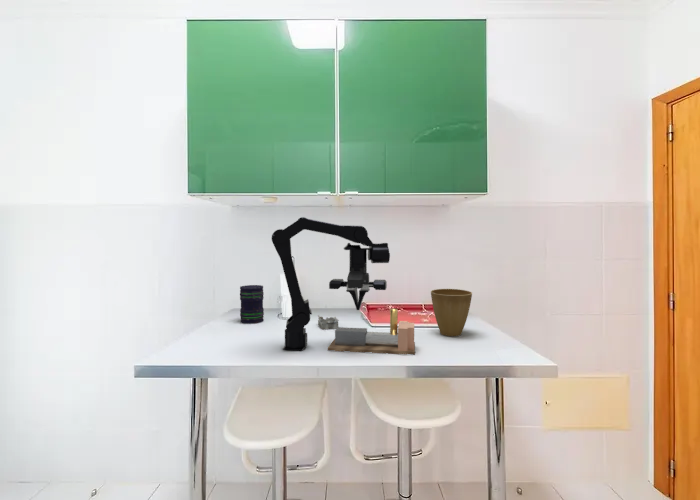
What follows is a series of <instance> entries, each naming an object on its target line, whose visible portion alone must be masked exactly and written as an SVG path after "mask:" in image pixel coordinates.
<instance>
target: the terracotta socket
mask: <svg viewBox="0 0 700 500" xmlns="http://www.w3.org/2000/svg"><path fill="white" fill-rule="evenodd" d="M414 342H415V322H409V321H405V320H403V321H401V320H399V322H398V351H408V350H414Z"/></svg>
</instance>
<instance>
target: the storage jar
mask: <svg viewBox="0 0 700 500" xmlns="http://www.w3.org/2000/svg"><path fill="white" fill-rule="evenodd" d="M239 289H240V290H239V300H240V310H239V312H240V313H239V317H240V323H241V324H245V325H255V324H260V323H264V318H265V317H264V316H265V312H264V310H265V309H264V285H261V284H259V285H258V284H251V285H250V284H249V285H248V284H247V285H242V286H241V285H240V286H239Z"/></svg>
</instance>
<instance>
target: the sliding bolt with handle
mask: <svg viewBox="0 0 700 500" xmlns="http://www.w3.org/2000/svg"><path fill="white" fill-rule="evenodd" d="M398 311H399V310H398V308H390V310H389V315H390V316H389V332H383V331H367V332H366V343H376V344H398V326H399V322H398V316H399V315H398Z"/></svg>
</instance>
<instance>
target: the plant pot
mask: <svg viewBox="0 0 700 500" xmlns="http://www.w3.org/2000/svg"><path fill="white" fill-rule="evenodd" d="M430 295H431V296H430V297H431V302H432V303H431V304H432V308H433V313H434V318H435V321H436V324H437V327H438V330H439V332H440V334H441V335H442V336H445V337H460V336H461V335H462V333H463V331H464V328H465V326H466V322H467V321H468V320H467V319H468V317H469V312H470V308H471V303H472V297H473V292H472V291H469V290H465V289H458V288H435V289H432V290H430Z"/></svg>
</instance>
